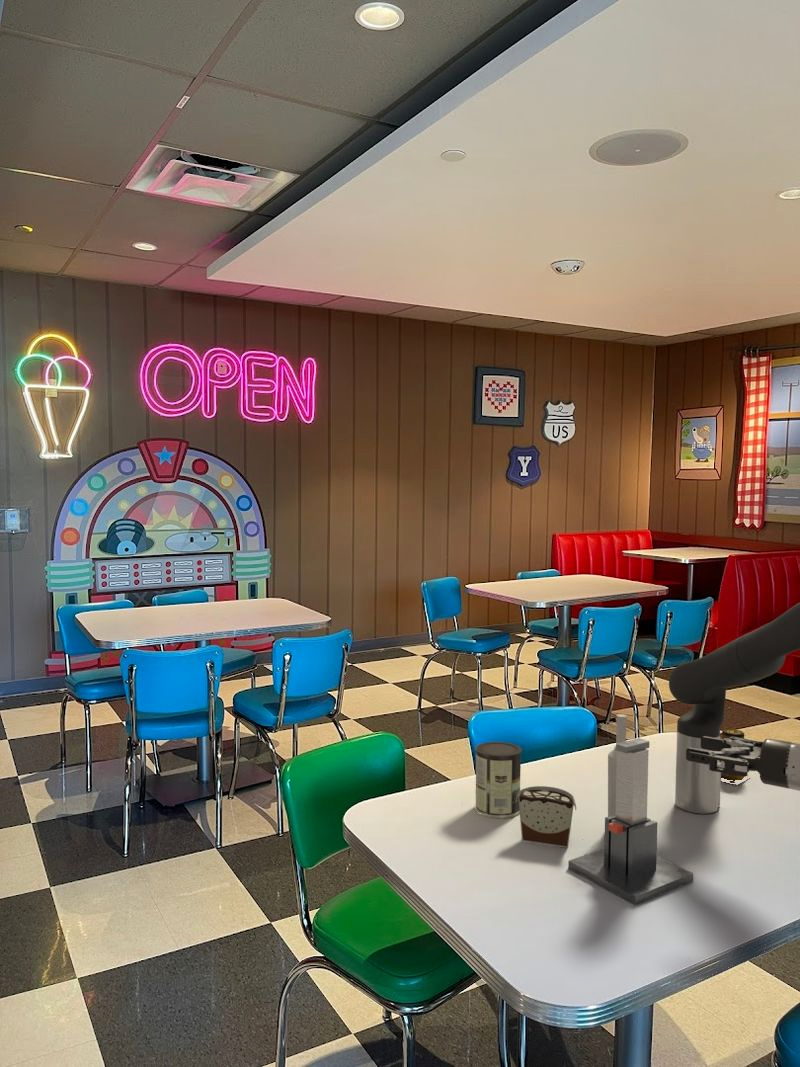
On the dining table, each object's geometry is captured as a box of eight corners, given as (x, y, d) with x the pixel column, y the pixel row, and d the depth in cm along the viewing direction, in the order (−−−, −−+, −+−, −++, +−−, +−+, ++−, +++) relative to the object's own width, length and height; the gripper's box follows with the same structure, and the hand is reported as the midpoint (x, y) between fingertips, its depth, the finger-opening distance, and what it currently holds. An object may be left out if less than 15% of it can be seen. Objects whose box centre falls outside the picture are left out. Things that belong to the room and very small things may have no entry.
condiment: (750, 778, 201) (752, 731, 200) (736, 786, 195) (738, 738, 194) (722, 770, 206) (723, 725, 206) (708, 778, 200) (709, 732, 200)
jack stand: (625, 848, 160) (626, 797, 160) (693, 881, 147) (694, 825, 146) (568, 868, 151) (569, 814, 151) (635, 904, 138) (636, 845, 137)
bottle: (632, 838, 165) (635, 719, 164) (607, 836, 166) (609, 718, 165) (630, 828, 170) (633, 713, 169) (605, 826, 171) (608, 711, 170)
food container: (579, 836, 166) (580, 789, 165) (575, 849, 160) (576, 800, 159) (520, 828, 170) (521, 782, 169) (514, 839, 164) (515, 792, 163)
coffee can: (503, 798, 186) (504, 738, 186) (529, 814, 177) (530, 751, 176) (466, 805, 182) (466, 744, 181) (490, 822, 172) (491, 758, 172)
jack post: (632, 855, 152) (635, 736, 151) (650, 864, 149) (653, 742, 148) (609, 864, 149) (612, 742, 148) (627, 872, 145) (630, 748, 144)
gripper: (802, 733, 137) (705, 718, 147) (785, 754, 126) (681, 736, 135) (801, 776, 137) (705, 758, 147) (784, 801, 126) (681, 779, 135)
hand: (694, 747), depth 141 cm, fingers open, 8 cm apart
